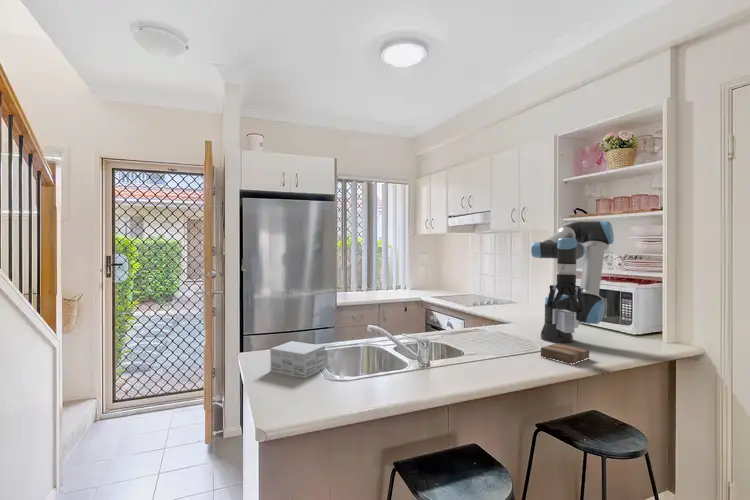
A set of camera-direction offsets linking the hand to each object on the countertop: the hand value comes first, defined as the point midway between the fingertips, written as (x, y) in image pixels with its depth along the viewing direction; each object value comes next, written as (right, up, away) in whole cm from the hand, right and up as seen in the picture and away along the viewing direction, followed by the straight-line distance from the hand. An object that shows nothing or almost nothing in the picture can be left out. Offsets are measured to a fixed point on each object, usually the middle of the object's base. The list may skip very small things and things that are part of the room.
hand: (565, 325), depth 171 cm
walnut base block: (0, -14, 0) cm, 14 cm away
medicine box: (0, -3, 0) cm, 3 cm away
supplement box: (-113, -14, -17) cm, 115 cm away
